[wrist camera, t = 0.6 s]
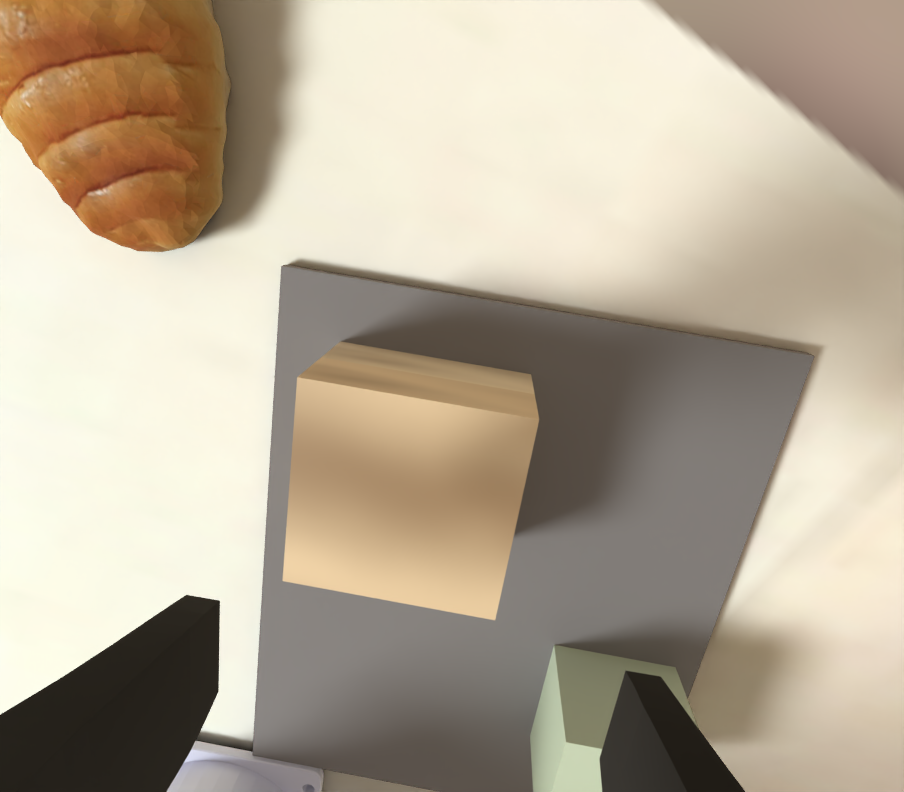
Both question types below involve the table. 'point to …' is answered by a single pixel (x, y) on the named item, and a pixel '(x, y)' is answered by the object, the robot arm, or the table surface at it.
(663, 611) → the mat
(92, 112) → the pastry
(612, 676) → the green block
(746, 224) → the table surface
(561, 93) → the table surface
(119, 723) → the robot arm
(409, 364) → the tower base slab
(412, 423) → the tower top slab
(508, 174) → the table surface
